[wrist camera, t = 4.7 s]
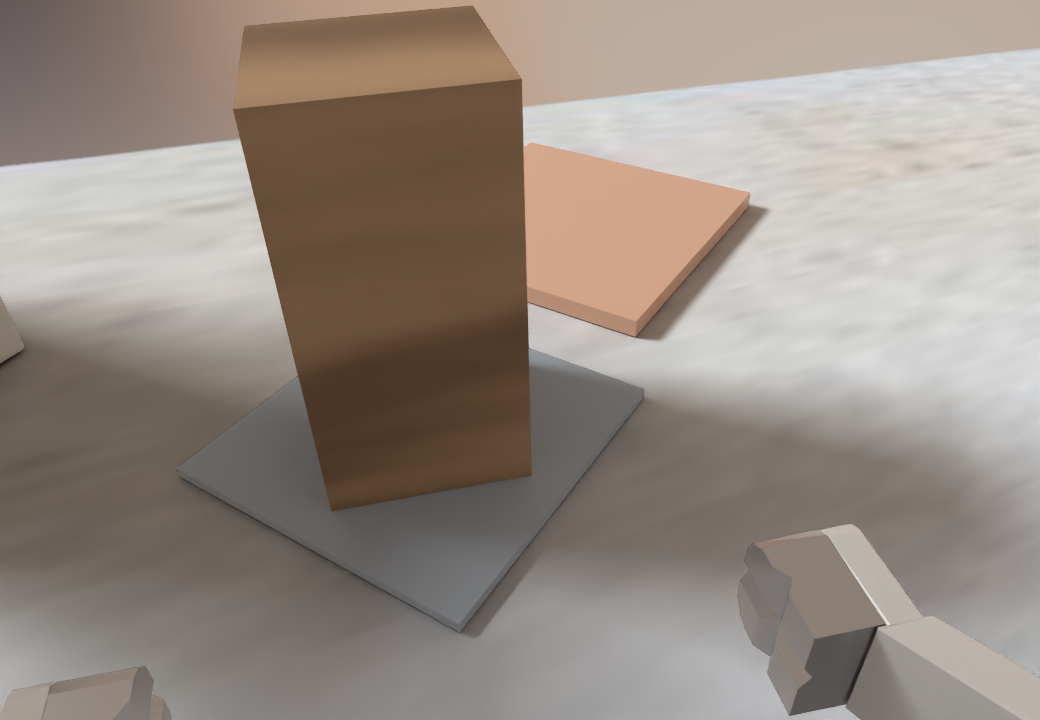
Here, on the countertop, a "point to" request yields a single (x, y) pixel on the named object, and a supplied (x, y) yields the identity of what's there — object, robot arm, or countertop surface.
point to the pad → (615, 235)
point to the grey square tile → (424, 518)
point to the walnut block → (395, 243)
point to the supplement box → (8, 335)
